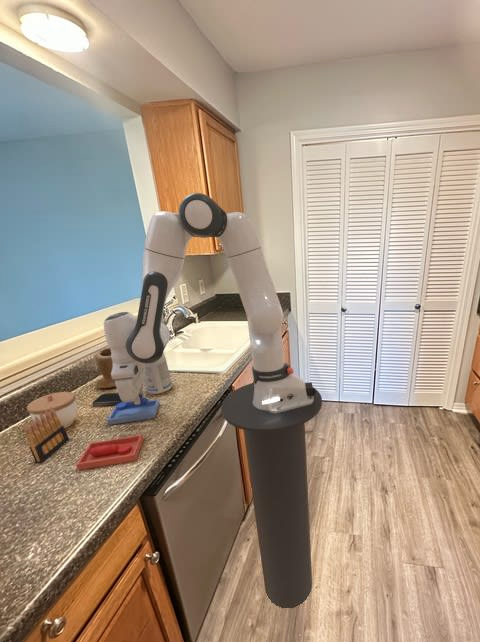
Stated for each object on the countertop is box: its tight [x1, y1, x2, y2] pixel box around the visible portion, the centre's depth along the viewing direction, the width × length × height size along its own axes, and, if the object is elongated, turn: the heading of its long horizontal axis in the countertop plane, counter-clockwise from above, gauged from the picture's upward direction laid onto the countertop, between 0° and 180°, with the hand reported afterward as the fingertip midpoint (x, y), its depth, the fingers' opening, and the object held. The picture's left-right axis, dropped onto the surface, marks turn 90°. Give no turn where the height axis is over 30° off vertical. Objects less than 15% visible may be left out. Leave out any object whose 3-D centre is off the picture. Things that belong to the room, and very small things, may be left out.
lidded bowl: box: [26, 391, 79, 429], centre depth 104 cm, size 13×13×11 cm
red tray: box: [75, 434, 144, 471], centre depth 90 cm, size 14×10×2 cm
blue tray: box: [106, 399, 161, 426], centre depth 110 cm, size 14×10×2 cm
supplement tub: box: [143, 351, 173, 395], centre depth 125 cm, size 10×10×15 cm
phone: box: [92, 392, 123, 407], centre depth 120 cm, size 8×1×15 cm
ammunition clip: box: [23, 407, 70, 463], centre depth 91 cm, size 11×2×12 cm, turn 177°
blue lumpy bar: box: [115, 397, 150, 410], centre depth 109 cm, size 4×10×3 cm, turn 103°
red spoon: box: [90, 444, 132, 456], centre depth 90 cm, size 4×10×3 cm, turn 103°
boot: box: [94, 346, 116, 389], centre depth 133 cm, size 15×12×15 cm
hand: (139, 401), depth 109 cm, fingers closed on blue lumpy bar, 2 cm apart
